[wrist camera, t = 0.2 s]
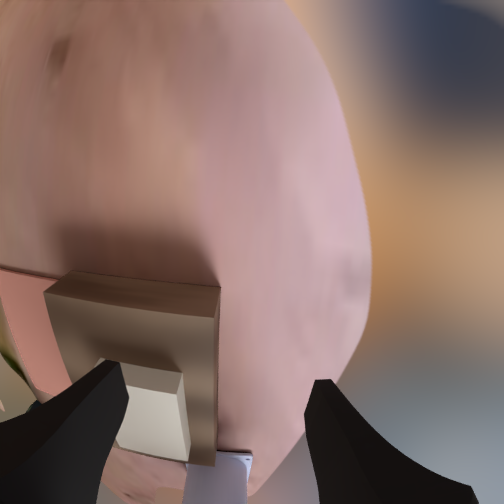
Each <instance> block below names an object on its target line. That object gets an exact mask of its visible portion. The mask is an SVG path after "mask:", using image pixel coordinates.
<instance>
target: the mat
mask: <svg viewBox="0 0 504 504" xmlns="http://www.w3.org/2000/svg"><path fill="white" fill-rule="evenodd" d="M57 281H58V280H57V279H52V278H46V277H41V276H35V275H30V274H25V273H20V272H15V271H10V270H6V269H1V268H0V297H1V300H2V304H3V307H4V310H5V314H6V317H7V320H8V323H9V326H10V329H11V332H12V334H13V337H14V340H15V342H16V345H17V348H18V350H19V353H20V355H21V357H22V360H23V362H24V364H25V367H26V369H27V371H28V373H29V375H30V377H31V379H32V381H33V383H34V385H35V387H36V388H37V389H39V390H41V391H43V392H46V393H48V394H50V395H53V396H56V395H58V394H59V393H61V392H62V391H64V390H65V389H67V388H68V387H70V386H71V385H72V383H71V380H70V378H69V375H68V373H67V370H66V368H65V365H64V362H63V360H62V357H61V354H60V351H59V348H58V345H57V342H56V339H55V336H54V333H53V329H52V326H51V322H50V319H49V315H48V311H47V307H46V303H45V299H44V295H43V291H45V290H46V289H47V288H49V287H50V286H51V285H53V284H54V283H55V282H57Z"/></svg>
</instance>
